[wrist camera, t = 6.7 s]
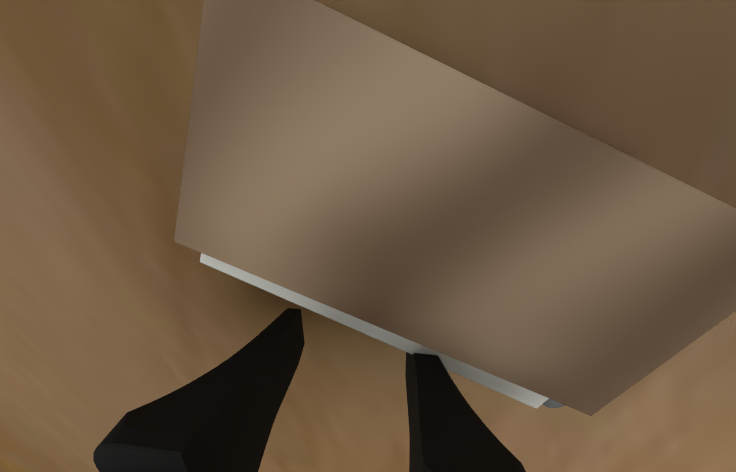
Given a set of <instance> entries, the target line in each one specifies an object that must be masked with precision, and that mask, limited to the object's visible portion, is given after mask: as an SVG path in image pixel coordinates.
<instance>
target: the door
mask: <svg viewBox="0 0 736 472" xmlns="http://www.w3.org/2000/svg"><path fill="white" fill-rule="evenodd" d="M200 262H201V263H203V264H206V265H208V266H210V267H213V268H215V269H217V270H220V271H222V272H224V273H226V274H229V275H231V276H233V277H236V278H238V279H240V280H242V281H245V282H247V283H249V284H252V285H254V286H256V287H259V288H261V289H263V290H265V291H268V292H270V293H272V294H275V295H277V296H279V297H282V298H284V299H286V300H288V301H291V302H293V303H295V304H298V305H300V306H302V307H304V308H307V309H309V310H311V311H314V312H316V313H318V314H321V315H323V316H325V317H327V318H330V319H332V320H334V321H337V322H339V323H341V324H343V325H346V326H348V327H350V328H353V329H355V330H357V331H360V332H362V333H364V334H366V335H369V336H371V337H373V338H376V339H378V340H380V341H382V342H385V343H387V344H389V345H392V346H394V347H396V348H399V349H401V350H403V351H405V352H408V353H410V354H412V355H413V353H422V354H431V355H437V356H438V357H440V359H441V361H442V363H443V365H444V367H445V369H447V370H449V371H451V372H454V373H456V374H458V375H461V376H463V377H465V378H467V379H470V380H472V381H474V382H477V383H479V384H481V385H483V386H486V387H488V388H490V389H493V390H495V391H497V392H500V393H502V394H504V395H506V396H509V397H511V398H513V399H516V400H518V401H520V402H522V403H525V404H527V405H529V406H532V407H534V408H536V409H537V408H538V407H539V406H540V405H542V404H543V405H545V406H546V407H549V408H559V407H562V406H564V404H561V403H559V402H557V401H554V400H552V399H549V398H547V397H545V396H542V395H540V394H537V393H535V392H533V391H530V390H528V389H526V388H523V387H521V386H518V385H516V384H514V383H511V382H509V381H506V380H504V379H502V378H499V377H497V376H494V375H492V374H490V373H487V372H485V371H482V370H480V369H478V368H475V367H473V366H471V365H468V364H466V363H463V362H461V361H459V360H456V359H454V358H451V357H449V356H447V355H444V354H442V353H439V352H437V351H435V350H432V349H430V348H427V347H425V346H423V345H420V344H418V343H416V342H413V341H411V340H408V339H406V338H404V337H401V336H399V335H396V334H394V333H392V332H389V331H387V330H384V329H382V328H380V327H377V326H375V325H372V324H370V323H368V322H365V321H363V320H361V319H358V318H356V317H353V316H351V315H349V314H346V313H344V312H341V311H339V310H337V309H334V308H332V307H329V306H327V305H325V304H322V303H320V302H317V301H315V300H313V299H310V298H308V297H306V296H303V295H301V294H298V293H296V292H294V291H291V290H289V289H286V288H284V287H282V286H279V285H277V284H274V283H272V282H270V281H267V280H265V279H262V278H260V277H258V276H255V275H253V274H251V273H248V272H246V271H243V270H241V269H239V268H236V267H234V266H231V265H229V264H227V263H224V262H222V261H219V260H217V259H215V258H212V257H210V256H207V255H205V254H203V253H202V254H201V258H200Z"/></svg>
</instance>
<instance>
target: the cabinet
mask: <svg viewBox="0 0 736 472" xmlns="http://www.w3.org/2000/svg"><path fill="white" fill-rule="evenodd" d="M174 242H176V243H179V244H181V245H184V246H186V247H188V248H191V249H193V250H196V251H198V252H200V253H203V254H205V255H207V256H210V257H212V258H215V259H217V260H219V261H222V262H224V263H227V264H229V265H231V266H234V267H236V268H239V269H241V270H243V271H246V272H248V273H251V274H253V275H255V276H258V277H260V278H262V279H265V280H267V281H270V282H272V283H274V284H277V285H279V286H282V287H284V288H286V289H289V290H291V291H294V292H296V293H298V294H301V295H303V296H306V297H308V298H310V299H313V300H315V301H317V302H320V303H322V304H325V305H327V306H329V307H332V308H334V309H337V310H339V311H341V312H344V313H346V314H349V315H351V316H353V317H356V318H358V319H361V320H363V321H365V322H368V323H370V324H372V325H375V326H377V327H380V328H382V329H384V330H387V331H389V332H392V333H394V334H396V335H399V336H401V337H404V338H406V339H408V340H411V341H413V342H416V343H418V344H420V345H423V346H425V347H427V348H430V349H432V350H435V351H437V352H439V353H442V354H444V355H447V356H449V357H451V358H454V359H456V360H459V361H461V362H463V363H466V364H468V365H471V366H473V367H475V368H478V369H480V370H482V371H485V372H487V373H490V374H492V375H494V376H497V377H499V378H502V379H504V380H506V381H509V382H511V383H514V384H516V385H518V386H521V387H523V388H526V389H528V390H530V391H533V392H535V393H537V394H540V395H542V396H545V397H547V398H549V399H552V400H554V401H557V402H559V403H561V404H564V405H566V406H569V407H571V408H573V409H576V410H578V411H581V412H583V413H585V414H588V415H590V416H592V415H593V414H594V413H596V412H597V411H599V410H600V409H601V408H603V407H604V406H605V405H607V404H608V403H610V402H611V401H612V400H614V399H615V398H616V397H618V396H619V395H620V394H622V393H623V392H625V391H626V390H627V389H629V388H630V387H631V386H633V385H634V384H636V383H637V382H638V381H640V380H641V379H642V378H644V377H645V376H647V375H648V374H649V373H651V372H652V371H653V370H655V369H656V368H658V367H659V366H660V365H662V364H663V363H664V362H666V361H667V360H669V359H670V358H671V357H673V356H674V355H675V354H677V353H678V352H680V351H681V350H682V349H684V348H685V347H686V346H688V345H689V344H690V343H692V342H693V341H695V340H696V339H697V338H699V337H700V336H701V335H703V334H704V333H706V332H707V331H708V330H710V329H711V328H712V327H714V326H715V325H717V324H718V323H719V322H721V321H722V320H723V319H725V318H726V317H728V316H729V315H730V314H732V313H733V312H734V311H736V208H734V207H732V206H730V205H728V204H726V203H724V202H722V201H720V200H718V199H716V198H714V197H712V196H710V195H708V194H706V193H704V192H702V191H700V190H698V189H696V188H693V187H691V186H689V185H687V184H685V183H683V182H681V181H679V180H677V179H675V178H673V177H671V176H669V175H667V174H665V173H663V172H661V171H659V170H657V169H655V168H653V167H651V166H649V165H647V164H645V163H643V162H641V161H639V160H637V159H635V158H633V157H631V156H629V155H627V154H625V153H623V152H621V151H619V150H617V149H615V148H613V147H611V146H609V145H607V144H604V143H602V142H600V141H598V140H596V139H594V138H592V137H590V136H588V135H586V134H584V133H582V132H580V131H578V130H576V129H574V128H572V127H570V126H568V125H566V124H564V123H562V122H560V121H558V120H556V119H554V118H552V117H550V116H548V115H546V114H544V113H542V112H540V111H538V110H536V109H534V108H532V107H530V106H528V105H526V104H524V103H522V102H520V101H518V100H515V99H513V98H511V97H509V96H507V95H505V94H503V93H501V92H499V91H497V90H495V89H493V88H491V87H489V86H487V85H485V84H483V83H481V82H479V81H477V80H475V79H473V78H471V77H469V76H467V75H465V74H463V73H461V72H459V71H457V70H455V69H453V68H451V67H449V66H447V65H445V64H443V63H441V62H439V61H437V60H435V59H433V58H431V57H429V56H427V55H424V54H422V53H420V52H418V51H416V50H414V49H412V48H410V47H408V46H406V45H404V44H402V43H400V42H398V41H396V40H394V39H392V38H390V37H388V36H386V35H384V34H382V33H380V32H378V31H376V30H374V29H372V28H370V27H368V26H366V25H364V24H362V23H360V22H358V21H356V20H354V19H352V18H350V17H348V16H346V15H344V14H342V13H340V12H338V11H335V10H333V9H331V8H329V7H327V6H325V5H323V4H321V3H319V2H317V1H315V0H204V3H203V11H202V19H201V27H200V35H199V43H198V52H197V60H196V68H195V76H194V84H193V92H192V100H191V108H190V116H189V124H188V132H187V140H186V149H185V157H184V165H183V173H182V181H181V189H180V197H179V205H178V213H177V221H176V229H175V237H174Z"/></svg>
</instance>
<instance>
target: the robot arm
mask: <svg viewBox="0 0 736 472" xmlns="http://www.w3.org/2000/svg"><path fill="white" fill-rule="evenodd" d="M303 347H304V334H303V325H302V316H301V309H291V308H288V309H286V310H285V311H284V312H283V313H282V314H281V315H280V316H279V317H278V318H276V319H275V320H274V321H273V322H272V323H271V324H270V325H269V326H268V327H267V328H266V329H264V330H263V331H262V332H261V333H260V334H259V335H258V336H256V337H255V338H254V339H253V340H252V341H251V342H249V343H248V344H247V345H246V346H244V347H243V348H242V349H241V350H239V351H238V352H237V353H236V354H234V355H233V356H232V357H230V358H229V359H227V360H226V361H224V362H223V363H222V364H220V365H219V366H217V367H216V368H214V369H212V370H211V371H209V372H207V373H206V374H204V375H202V376H201V377H199V378H197V379H196V380H194V381H192V382H191V383H189V384H187V385H185V386H183V387H181V388H180V389H178V390H176V391H174V392H172V393H170V394H168V395H166V396H164V397H161V398H159V399H157V400H155V401H153V402H150V403H148V404H146V405H144V406H141V407H139V408H137V409H134V410H132V411H129V412H127V413H126V414H125V416H124V417H123V418H122V419H121V420H120V421H119V422H118V423H117V425H116V426H115V427H114V428H113V429H112V430H111V432H110V433H109V434H108V435H107V436H106V437H105V438H104V440H103V441H102V442H101V443H100V444H99V445H98V447H97V448H96V449H95V451H94V463H95V465H96V467H97V469H98V470H99V472H258V470H259V466H260V463H261V460H262V457H263V453H264V450H265V447H266V444H267V441H268V438H269V435H270V432H271V429H272V426H273V423H274V420H275V418H276V415H277V412H278V410H279V408H280V405H281V403H282V401H283V399H284V396H285V394H286V392H287V389H288V387H289V385H290V383H291V380H292V378H293V376H294V373H295V371H296V369H297V366H298V364H299V360H300V357H301V354H302V350H303ZM406 389H407V403H408V416H409V432H410V464H409V472H526V471H525V469H524V467H523V465H522V463H521V462H520V461H519V460H518V459H517V458H516V457H515V456H514V455H513V454H512V453H511V452H510V451H509V450H508V449H507V448H506V447H505V446H504V445H503V444H502V443H501V442H500V441H499V440H498V439H497V438H496V437H495V436H494V434H493V433H492V432H491V431H490V430H489V429H488V428H487V427H486V425H485V424H484V423H483V422H482V420H481V419H480V418H479V417H478V415H477V414H476V413H475V412H474V411H473V409H472V408H471V407H470V405H469V404H468V403H467V401H466V400H465V398H464V397H463V396H462V394H461V393H460V391H459V390H458V388H457V387H456V385H455V384H454V382H453V380H452V379H451V377H450V376H449V374H448V372H447V370H446V369H445V367H444V365H443V363H442V361H441V359H440V357H438V356H437V355H431V354H422V353H413V355H412V354H410V353H408V352H406Z"/></svg>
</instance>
